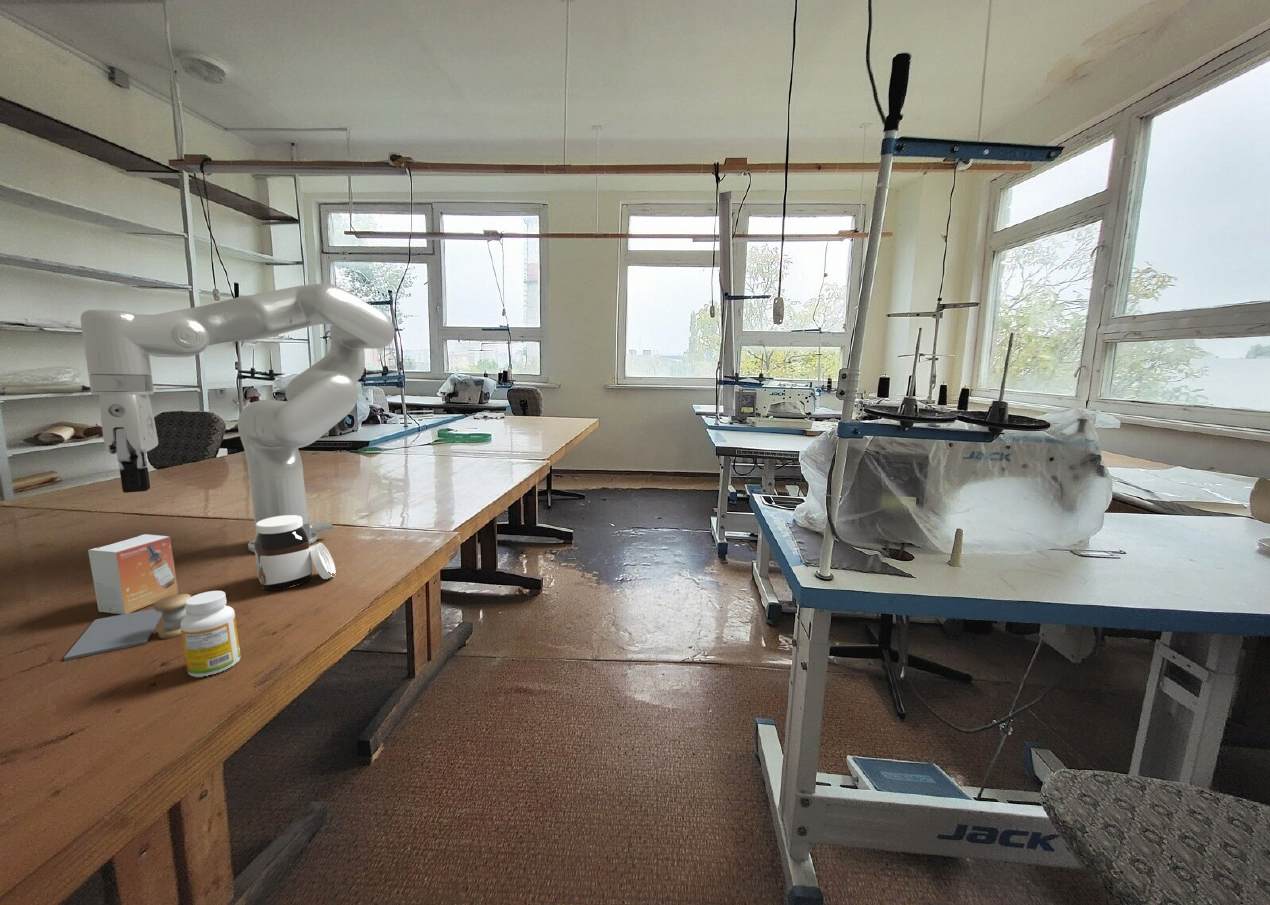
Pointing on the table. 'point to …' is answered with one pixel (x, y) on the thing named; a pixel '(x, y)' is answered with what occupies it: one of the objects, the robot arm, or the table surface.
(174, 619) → the thread spool
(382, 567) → the table surface
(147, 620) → the felt mat
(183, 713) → the table surface
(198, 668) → the supplement bottle
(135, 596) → the small box
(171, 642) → the table surface
